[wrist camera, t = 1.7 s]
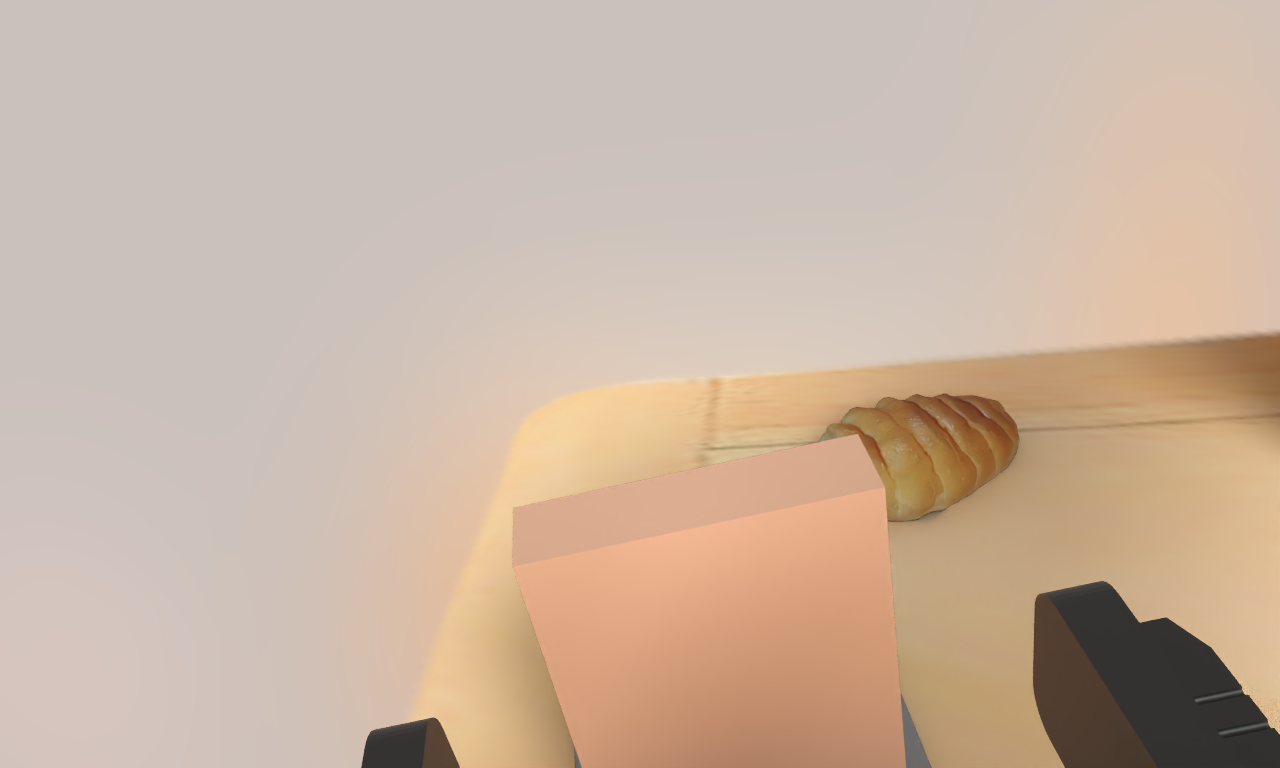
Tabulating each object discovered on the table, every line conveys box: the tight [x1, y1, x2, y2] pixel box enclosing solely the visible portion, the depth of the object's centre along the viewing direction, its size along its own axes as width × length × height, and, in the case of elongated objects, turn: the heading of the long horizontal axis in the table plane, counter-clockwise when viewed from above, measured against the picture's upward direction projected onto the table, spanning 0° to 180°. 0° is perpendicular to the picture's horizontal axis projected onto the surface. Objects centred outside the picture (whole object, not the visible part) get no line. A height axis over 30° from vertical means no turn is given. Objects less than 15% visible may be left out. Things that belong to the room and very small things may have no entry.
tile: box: [513, 434, 906, 768], centre depth 31 cm, size 10×3×14 cm, turn 96°
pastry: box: [820, 394, 1019, 521], centre depth 48 cm, size 9×7×4 cm
